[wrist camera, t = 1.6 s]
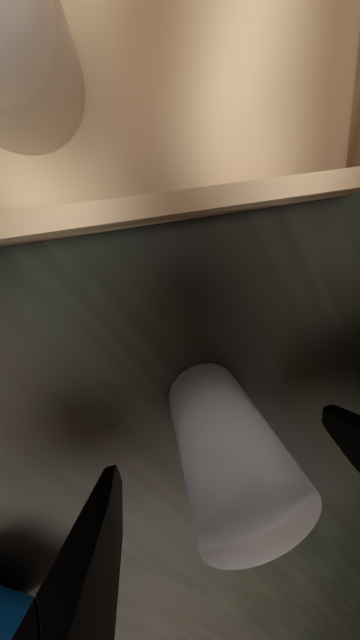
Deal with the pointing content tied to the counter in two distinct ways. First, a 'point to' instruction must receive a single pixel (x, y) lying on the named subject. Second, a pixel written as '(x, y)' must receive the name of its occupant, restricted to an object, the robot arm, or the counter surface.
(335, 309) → the counter surface
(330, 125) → the tray
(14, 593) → the alarm clock
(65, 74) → the white rounded cylinder
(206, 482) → the grey rounded cylinder
